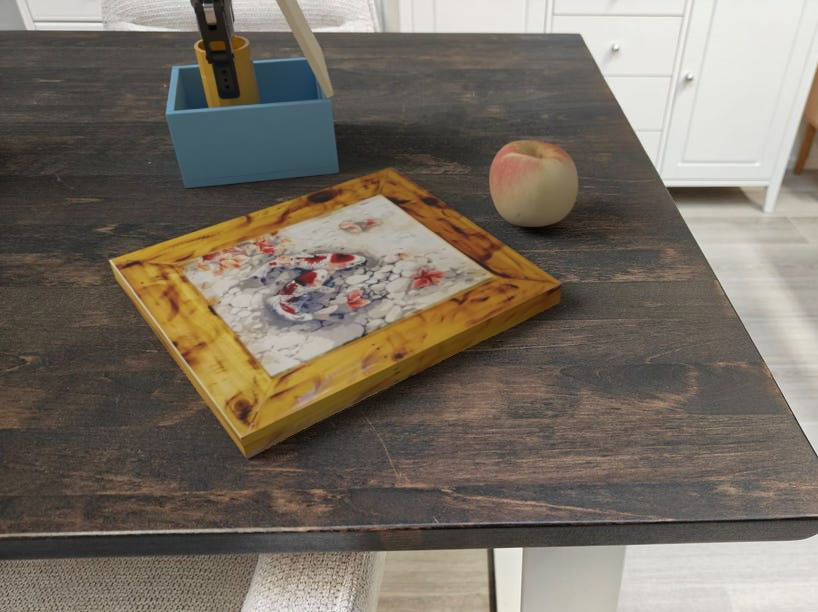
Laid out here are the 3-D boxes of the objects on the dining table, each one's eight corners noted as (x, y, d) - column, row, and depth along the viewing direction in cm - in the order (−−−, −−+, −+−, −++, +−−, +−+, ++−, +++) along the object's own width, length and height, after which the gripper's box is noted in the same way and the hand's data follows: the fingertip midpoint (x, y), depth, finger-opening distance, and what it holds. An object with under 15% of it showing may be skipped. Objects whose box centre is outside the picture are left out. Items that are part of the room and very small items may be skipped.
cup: (198, 113, 82) (182, 48, 77) (230, 95, 86) (216, 32, 81) (240, 122, 80) (227, 56, 76) (270, 103, 84) (259, 39, 79)
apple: (476, 207, 79) (477, 136, 73) (552, 193, 81) (558, 123, 76) (509, 250, 73) (513, 175, 67) (589, 233, 75) (599, 160, 70)
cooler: (185, 188, 80) (165, 114, 75) (189, 134, 90) (172, 66, 85) (339, 173, 84) (331, 101, 78) (327, 123, 94) (319, 56, 88)
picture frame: (561, 283, 65) (240, 438, 51) (559, 303, 66) (246, 458, 52) (391, 167, 81) (108, 260, 66) (392, 185, 82) (116, 279, 68)
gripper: (156, -105, 75) (196, 65, 86) (145, -73, 64) (192, 116, 75) (234, -107, 76) (263, 60, 87) (235, -76, 66) (267, 109, 77)
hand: (230, 85), depth 81 cm, fingers closed on cup, 5 cm apart
